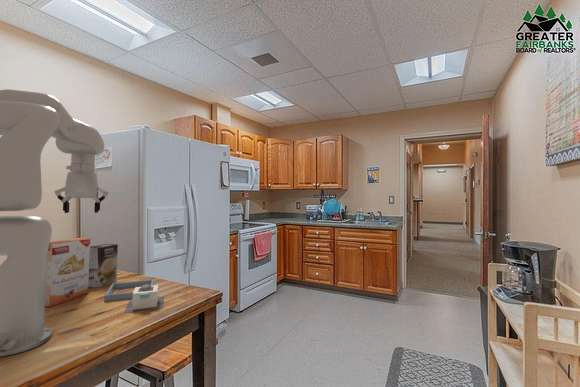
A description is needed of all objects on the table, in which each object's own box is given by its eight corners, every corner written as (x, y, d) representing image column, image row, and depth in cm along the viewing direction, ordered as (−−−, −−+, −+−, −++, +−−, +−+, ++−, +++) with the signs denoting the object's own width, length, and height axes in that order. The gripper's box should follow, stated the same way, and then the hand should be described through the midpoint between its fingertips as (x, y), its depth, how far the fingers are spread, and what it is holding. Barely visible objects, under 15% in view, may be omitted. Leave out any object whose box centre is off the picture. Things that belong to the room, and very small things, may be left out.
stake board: (163, 311, 89) (163, 289, 89) (123, 316, 85) (124, 293, 85) (164, 299, 99) (164, 279, 100) (129, 303, 95) (129, 283, 95)
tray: (151, 298, 100) (151, 290, 100) (104, 304, 94) (104, 295, 94) (153, 286, 113) (153, 279, 113) (112, 291, 108) (112, 283, 108)
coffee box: (98, 288, 111) (99, 247, 111) (85, 286, 112) (86, 247, 113) (117, 281, 120) (118, 244, 120) (104, 280, 121) (105, 243, 122)
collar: (156, 308, 89) (156, 293, 89) (131, 311, 86) (131, 295, 86) (157, 299, 97) (158, 284, 97) (135, 302, 94) (135, 287, 94)
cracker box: (50, 307, 91) (52, 243, 91) (36, 306, 92) (37, 243, 92) (89, 293, 105) (91, 238, 105) (76, 292, 106) (77, 237, 106)
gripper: (51, 167, 103) (50, 213, 103) (106, 169, 110) (105, 212, 110) (59, 169, 110) (58, 212, 110) (110, 171, 117) (109, 212, 117)
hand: (81, 212), depth 110 cm, fingers open, 9 cm apart
